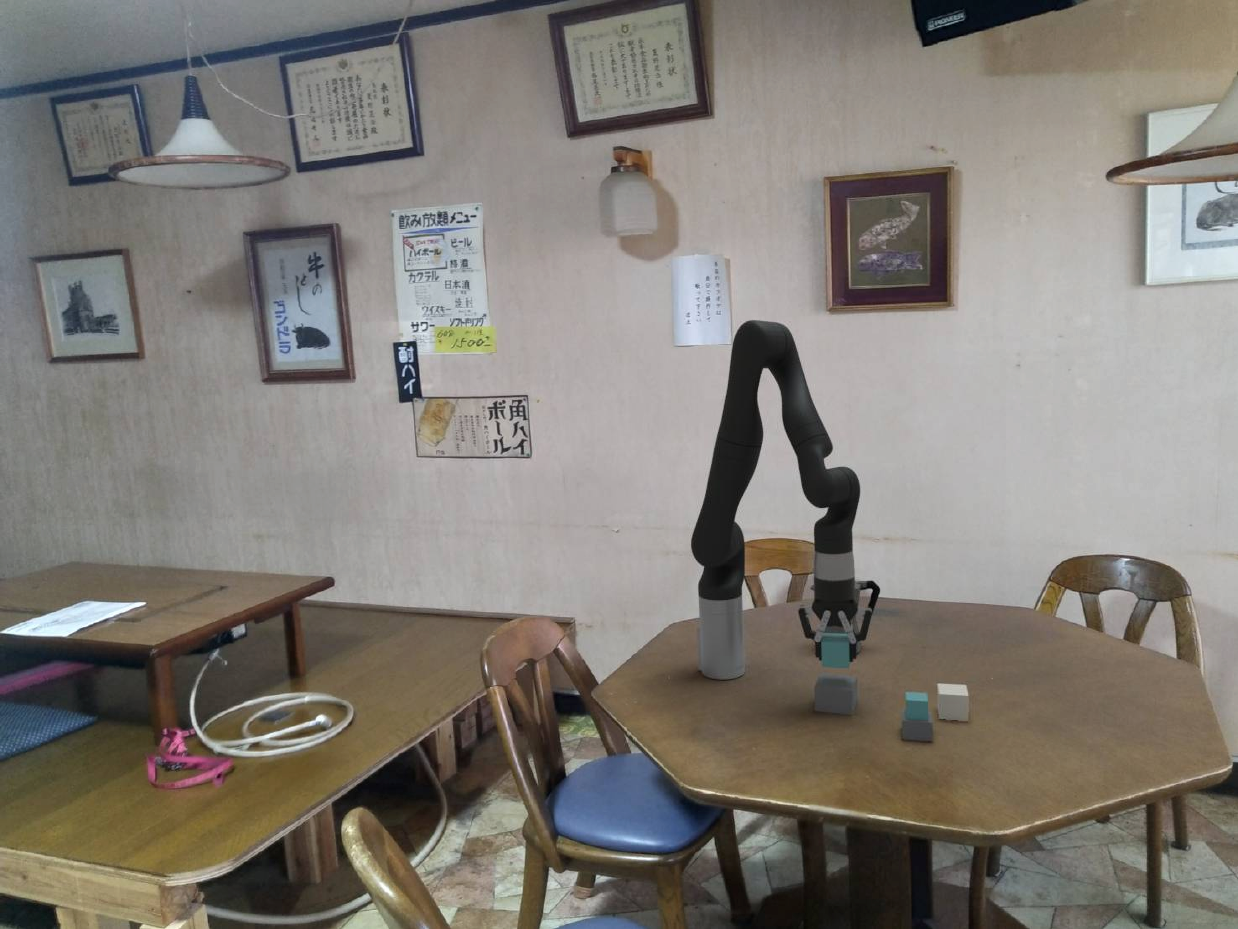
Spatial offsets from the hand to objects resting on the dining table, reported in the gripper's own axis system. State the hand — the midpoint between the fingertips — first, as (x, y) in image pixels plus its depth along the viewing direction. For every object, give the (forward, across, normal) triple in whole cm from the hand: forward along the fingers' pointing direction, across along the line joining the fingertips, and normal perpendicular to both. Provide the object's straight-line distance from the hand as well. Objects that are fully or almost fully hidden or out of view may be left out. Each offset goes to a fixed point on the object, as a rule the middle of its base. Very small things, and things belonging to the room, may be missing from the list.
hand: (835, 659), depth 168 cm
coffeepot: (+9, -1, -31) cm, 33 cm away
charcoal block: (+9, 0, 0) cm, 9 cm away
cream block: (+9, -21, +1) cm, 23 cm away
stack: (+9, -14, +10) cm, 20 cm away
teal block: (+1, 0, 0) cm, 1 cm away
